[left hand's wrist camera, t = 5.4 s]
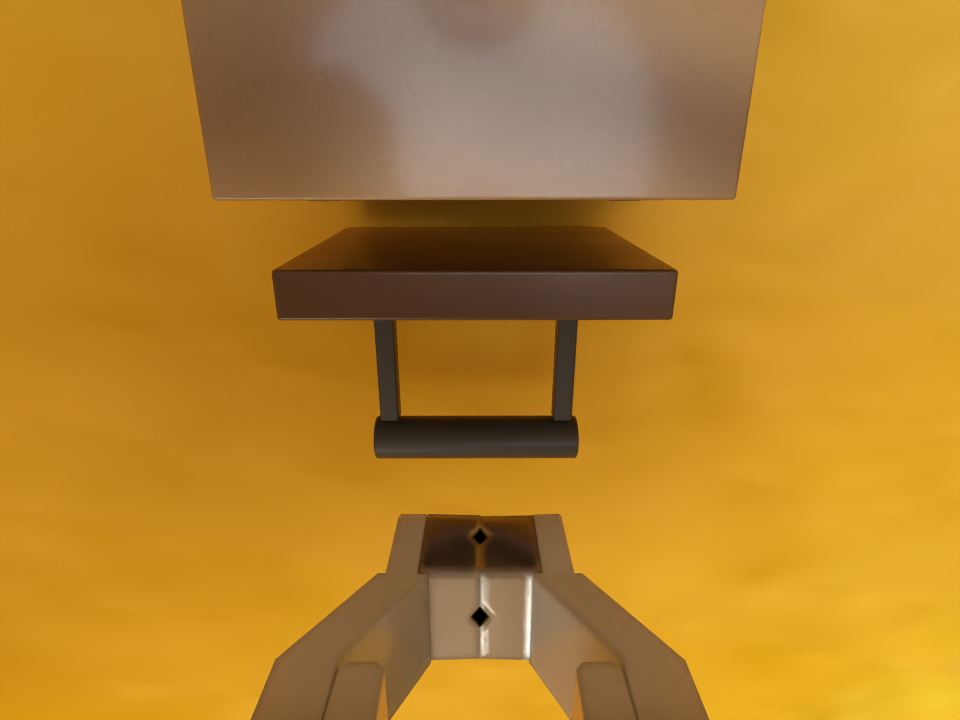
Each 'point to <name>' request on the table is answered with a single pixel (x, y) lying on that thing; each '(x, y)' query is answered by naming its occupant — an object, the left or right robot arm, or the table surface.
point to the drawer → (475, 313)
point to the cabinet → (473, 98)
